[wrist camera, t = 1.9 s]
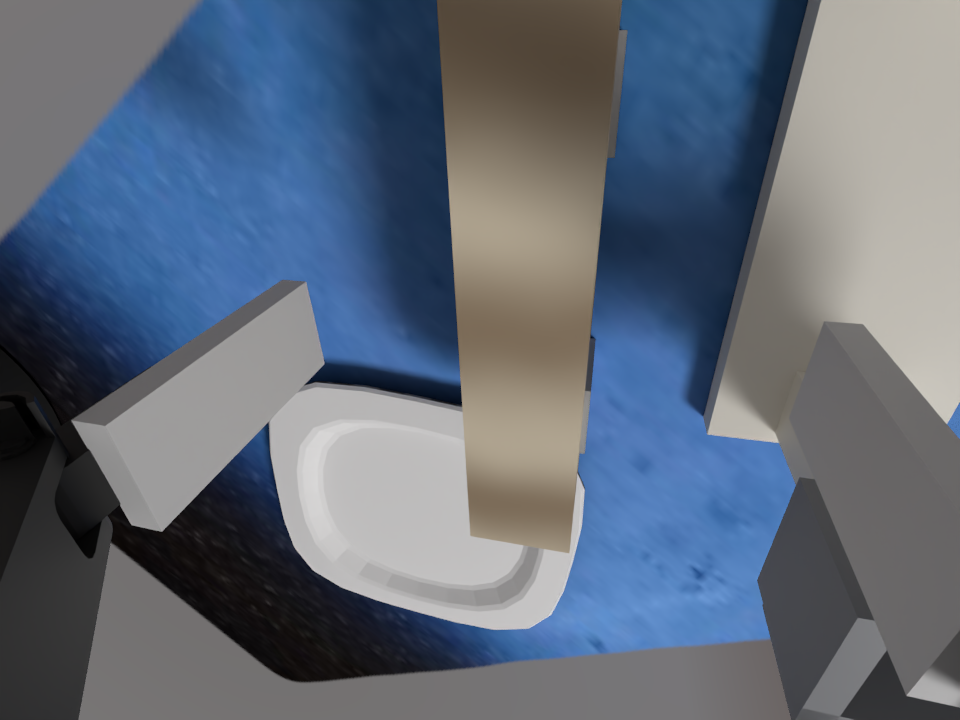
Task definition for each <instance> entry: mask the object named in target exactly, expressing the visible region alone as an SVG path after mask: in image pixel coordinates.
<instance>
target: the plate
mask: <svg viewBox="0 0 960 720" xmlns="http://www.w3.org/2000/svg"><path fill="white" fill-rule="evenodd" d="M269 439H270V455H271V460H272V465H273V470H274V476H275V481H276V486H277V491H278V496H279V500H280V504H281V509H282V513H283V518H284V521H285V524H286V527H287V529H288V532H289V535H290V537H291V540H292V543H293V545H294V548H295V549H296V550H297V551H298V553H299V554H300V555H301V556H302V558H303V559H304V560H305V561H306V562H307V564H308V565H309V566H310V567H311V569H312V570H313V571H315V572H317V573H318V574H320V575H322V576H323V577H325V578H327V579H328V580H330V581H332V582H333V583H335V584H337V585H338V586H340V587H342V588H344V589H347V590H350V591H353V592H355V593H358V594H361V595H364V596H366V597H369V598H372V599H375V600H377V601H381V602H384V603H388V604H391V605H395V606H398V607H402V608H405V609H409V610H412V611H416V612H419V613H423V614H427V615H431V616H434V617H438V618H442V619H445V620H449V621H453V622H457V623H462V624H467V625H472V626H477V627H482V628H488V629H493V630H505V629H528V628H530V627H532V626H534V625H535V624H537V623H539V622H540V621H542V620H543V619H545V618H547V617H548V616H550V615H551V614H552V612H553V611H554V609H555V607H556V605H557V603H558V601H559V599H560V597H561V595H562V593H563V592H564V589H565V586H566V582H567V579H568V576H569V573H570V569H571V566H572V563H573V559H574V555H575V551H576V548H577V544H578V540H579V536H580V532H581V528H582V518H583V505H584V492H585V487H584V485H583V482H582V480H581V478H580V475H579V473H577V483H576V493H575V503H574V513H573V523H572V532H571V542H570V552H569V553H564V552H558V551H553V550H547V549H541V548H536V547H530V546H524V545H518V544H513V543H507V542H501V541H496V540H490V539H484V538H478V537H473V536H470V522H469V506H468V490H467V474H466V458H465V442H464V426H463V410H462V405H459V404H454V403H450V402H445V401H441V400H436V399H432V398H427V397H423V396H418V395H413V394H408V393H402V392H397V391H392V390H387V389H382V388H377V387H372V386H367V385H357V384H346V383H336V382H326V381H315V382H311V383H308V384H305V385H304V386H303V387H302V388H301V389H300V390H299V391H298V392H297V393H296V394H295V395H294V396H293V397H292V398H291V399H290V400H289V401H288V402H287V403H286V404H285V405H284V406H283V407H282V408H281V409H280V410H279V411H278V412H277V414H276V415H275V416H274V417H273V418H272V419H271V420H270V421H269Z"/></svg>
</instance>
